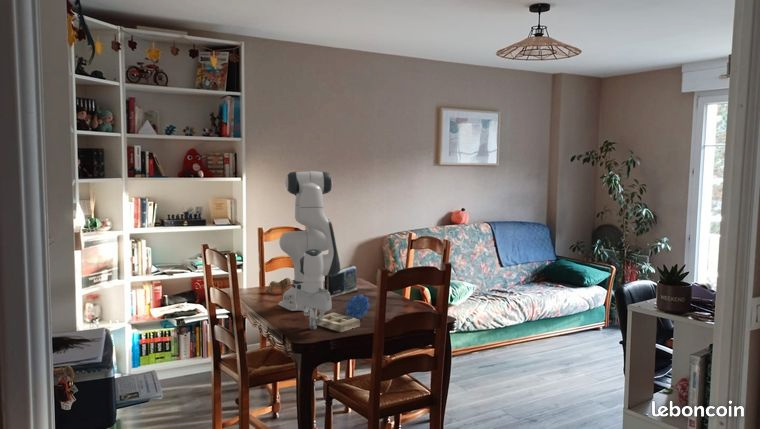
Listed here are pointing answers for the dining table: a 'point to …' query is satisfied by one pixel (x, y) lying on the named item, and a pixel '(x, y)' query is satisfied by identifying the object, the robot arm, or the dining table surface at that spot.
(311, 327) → the plug
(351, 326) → the socket block
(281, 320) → the dining table surface
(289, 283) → the lion figurine
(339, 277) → the radio
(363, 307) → the grapes
